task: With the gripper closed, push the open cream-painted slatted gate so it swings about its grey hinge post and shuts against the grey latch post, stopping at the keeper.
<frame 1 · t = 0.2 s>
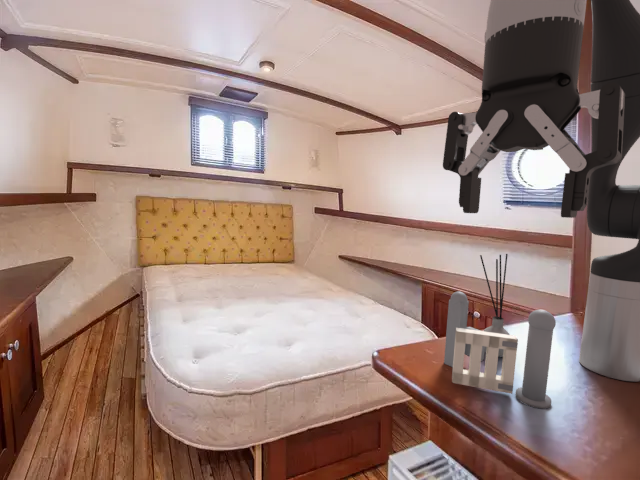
hand: (514, 215, 32), 28 cm above the table, tool pointing down, fingers open, 8 cm apart
reed diffuser: (490, 353, 67), on the table
gate: (483, 359, 53), point 5 cm above the table, hinge at 35.0°
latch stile: (453, 364, 62), on the table
hinge post: (532, 399, 51), on the table
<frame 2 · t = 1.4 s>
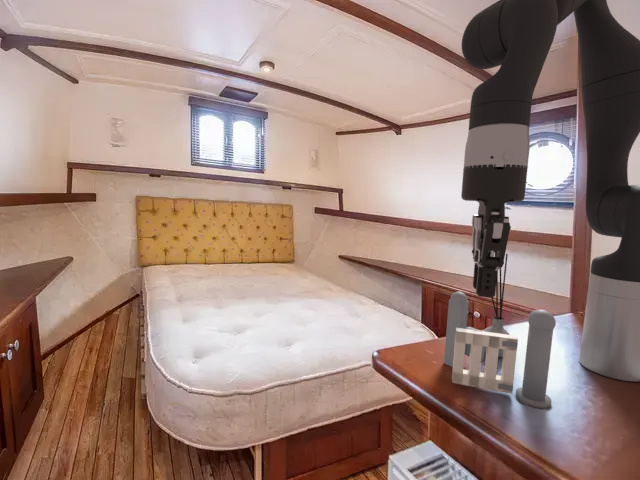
hand: (483, 292, 47), 17 cm above the table, tool pointing down, fingers open, 3 cm apart
nothing on the table moved.
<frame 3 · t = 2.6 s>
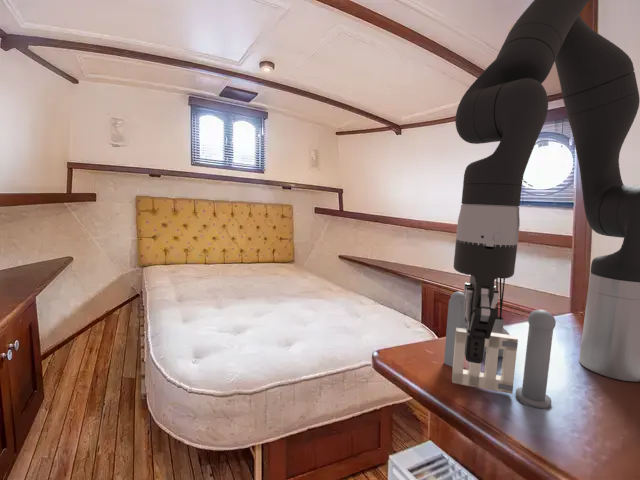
hand: (473, 360, 48), 7 cm above the table, tool pointing down, fingers closed
nothing on the table moved.
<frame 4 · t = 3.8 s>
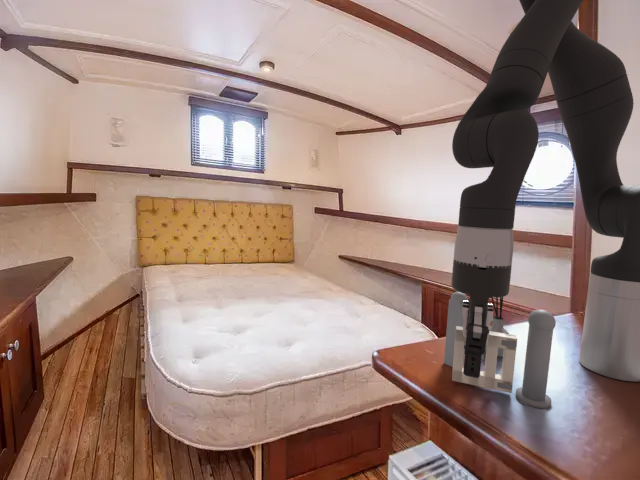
hand: (471, 374, 50), 4 cm above the table, tool pointing down, fingers closed
gate: (482, 358, 53), point 5 cm above the table, hinge at 31.2°, touching hand
everything else where it was.
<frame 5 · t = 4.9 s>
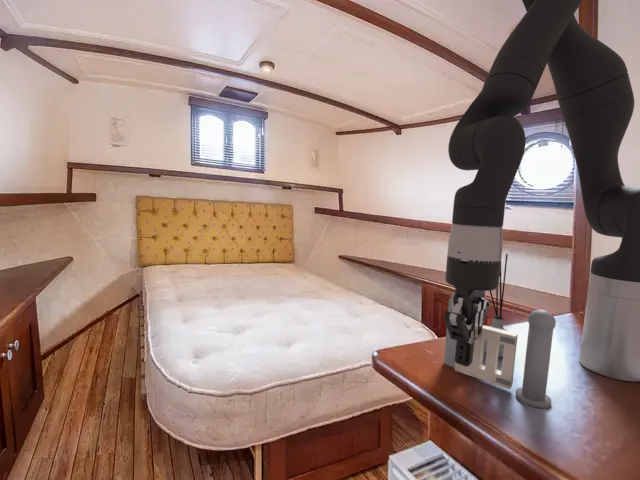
hand: (463, 363, 53), 4 cm above the table, tool pointing down, fingers closed
gate: (484, 352, 55), point 5 cm above the table, hinge at 12.2°, touching hand
everything else where it was.
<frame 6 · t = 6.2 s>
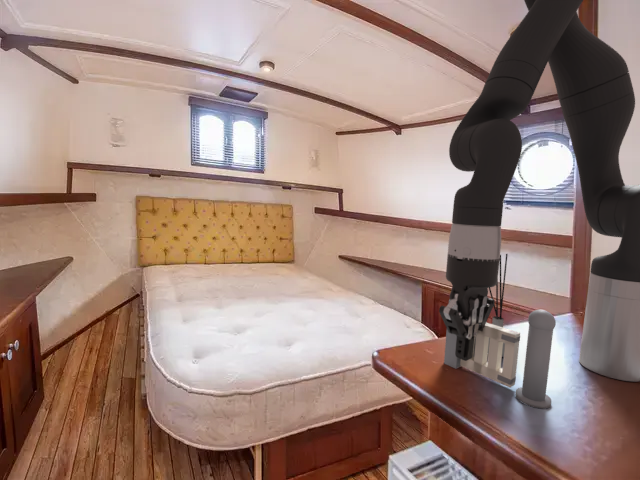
hand: (463, 357, 55), 4 cm above the table, tool pointing down, fingers closed
gate: (488, 350, 56), point 5 cm above the table, hinge at 0.0°, touching hand
everything else where it was.
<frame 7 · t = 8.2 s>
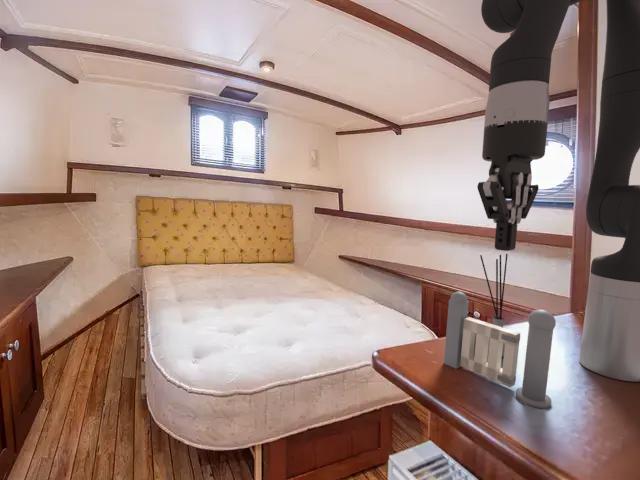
hand: (504, 249, 48), 23 cm above the table, tool pointing down, fingers closed
gate: (488, 350, 56), point 5 cm above the table, hinge at -0.1°
everything else where it was.
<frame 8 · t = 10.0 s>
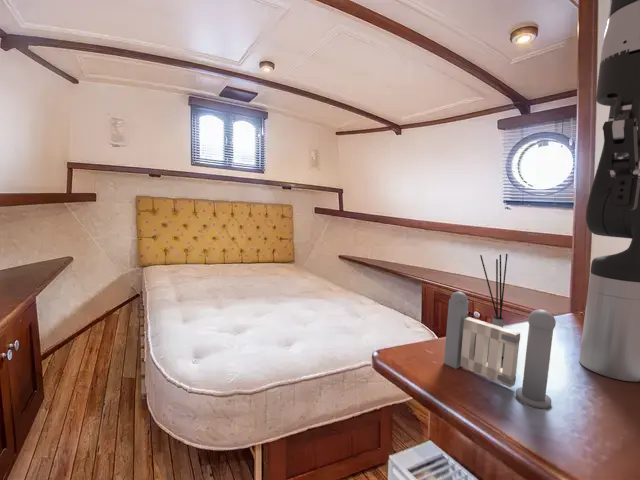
hand: (622, 209, 40), 29 cm above the table, tool pointing down, fingers closed
nothing on the table moved.
at the end: gate at +0° (first picture: +35°); gate touching nothing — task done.
